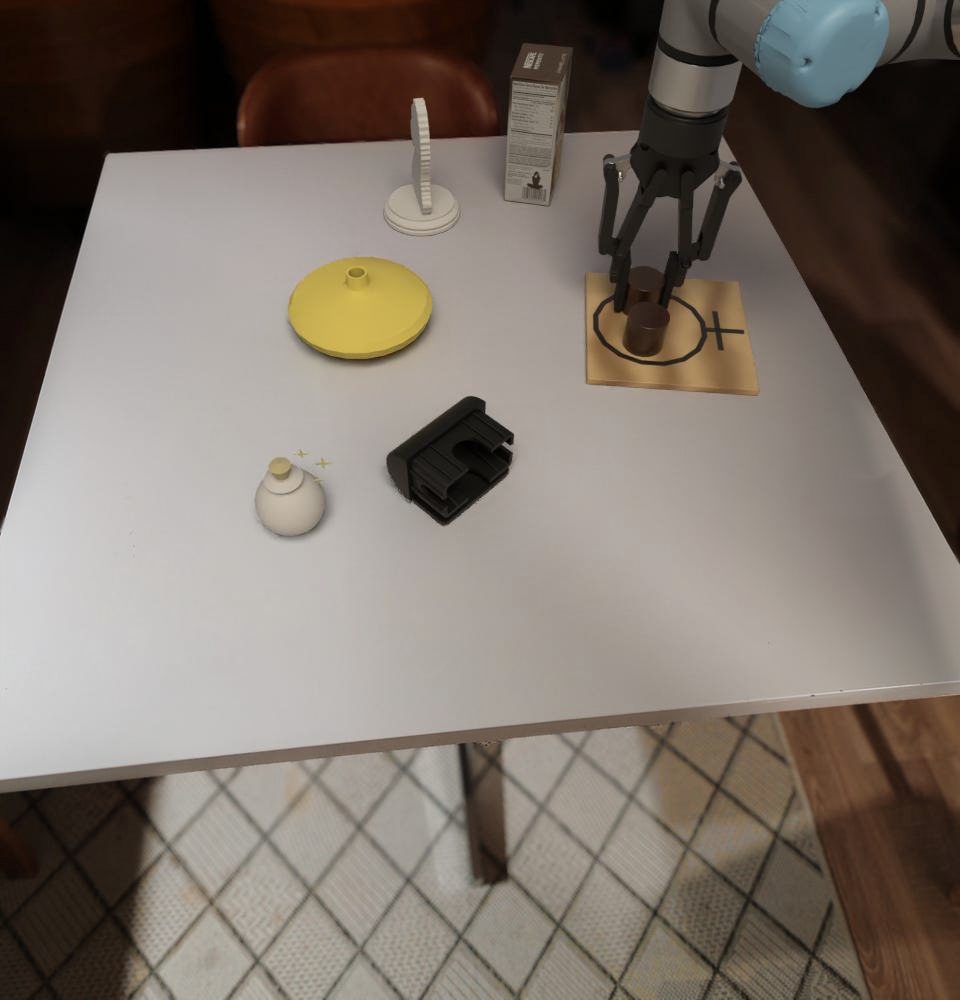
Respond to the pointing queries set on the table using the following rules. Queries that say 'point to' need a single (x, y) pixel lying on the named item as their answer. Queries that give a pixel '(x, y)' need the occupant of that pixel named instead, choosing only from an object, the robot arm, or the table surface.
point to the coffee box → (536, 122)
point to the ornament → (290, 498)
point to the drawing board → (674, 341)
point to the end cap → (452, 460)
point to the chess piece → (421, 189)
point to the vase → (360, 307)
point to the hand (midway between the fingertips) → (639, 305)
